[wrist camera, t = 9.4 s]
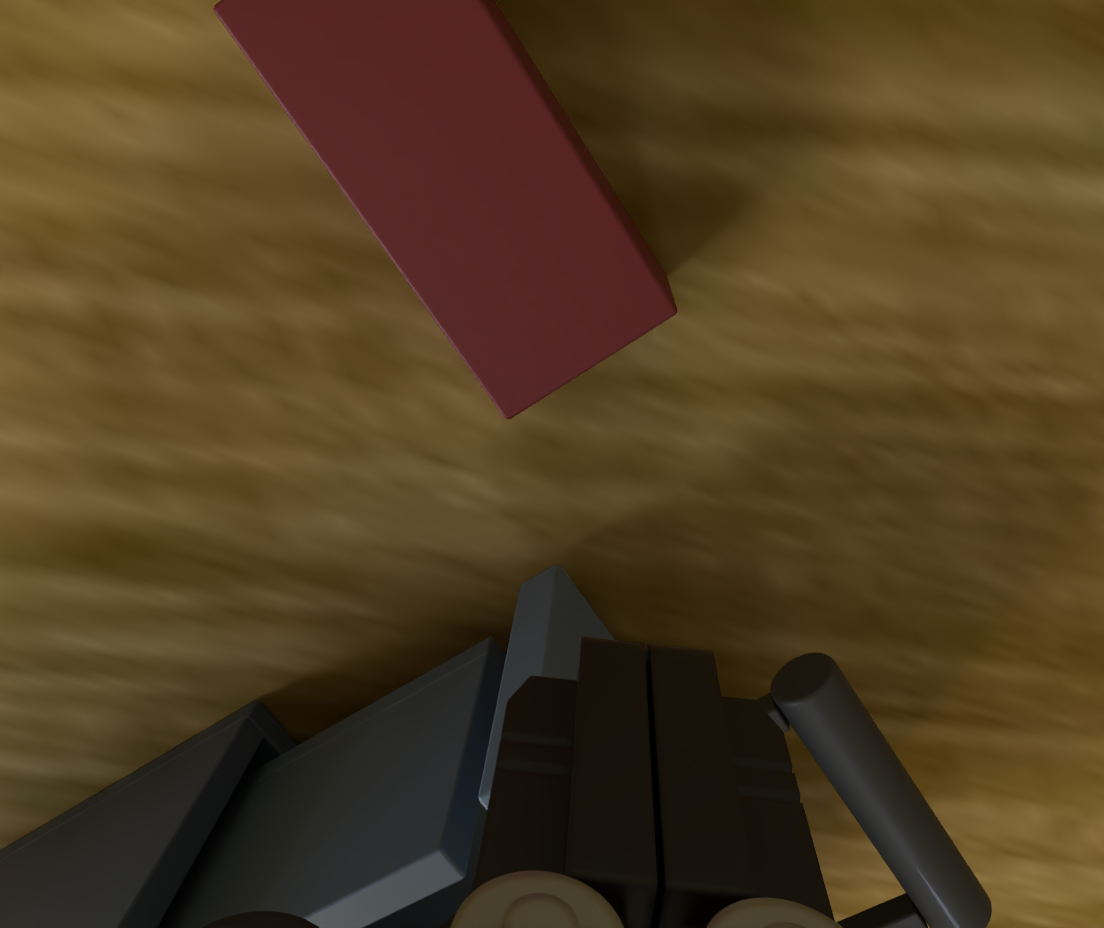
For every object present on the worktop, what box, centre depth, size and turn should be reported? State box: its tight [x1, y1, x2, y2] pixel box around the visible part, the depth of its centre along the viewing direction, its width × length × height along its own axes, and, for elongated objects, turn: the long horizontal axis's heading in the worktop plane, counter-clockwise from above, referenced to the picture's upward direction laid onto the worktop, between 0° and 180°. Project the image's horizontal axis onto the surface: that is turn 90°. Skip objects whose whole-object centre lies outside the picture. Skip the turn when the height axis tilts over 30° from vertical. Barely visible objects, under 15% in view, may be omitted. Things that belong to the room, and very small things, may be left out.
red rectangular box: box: [214, 0, 677, 419], centre depth 19 cm, size 9×4×4 cm, turn 34°
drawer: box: [157, 564, 992, 928], centre depth 22 cm, size 18×12×8 cm
